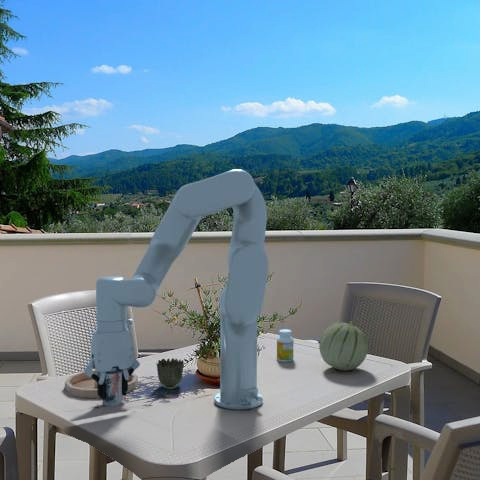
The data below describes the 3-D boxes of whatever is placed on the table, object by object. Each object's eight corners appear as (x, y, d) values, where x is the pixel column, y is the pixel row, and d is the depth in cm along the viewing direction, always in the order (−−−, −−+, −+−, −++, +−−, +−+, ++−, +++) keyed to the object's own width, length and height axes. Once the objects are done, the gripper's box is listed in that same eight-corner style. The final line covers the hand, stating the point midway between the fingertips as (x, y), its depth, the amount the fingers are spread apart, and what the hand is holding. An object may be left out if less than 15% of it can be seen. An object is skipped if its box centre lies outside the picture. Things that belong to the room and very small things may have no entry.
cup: (179, 395, 164) (178, 366, 163) (153, 393, 165) (152, 364, 164) (187, 386, 171) (186, 358, 170) (161, 384, 172) (161, 357, 172)
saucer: (147, 393, 165) (147, 382, 165) (78, 406, 155) (78, 394, 155) (122, 375, 181) (122, 365, 181) (57, 385, 171) (57, 375, 171)
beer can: (99, 408, 154) (98, 361, 153) (110, 402, 158) (109, 356, 157) (115, 410, 152) (115, 363, 151) (126, 404, 157) (125, 358, 156)
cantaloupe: (309, 368, 189) (309, 321, 188) (339, 360, 198) (340, 314, 197) (346, 379, 178) (347, 329, 177) (377, 370, 187) (378, 322, 186)
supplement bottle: (275, 357, 201) (275, 328, 200) (291, 357, 202) (291, 328, 201) (278, 362, 196) (278, 332, 195) (294, 362, 196) (295, 332, 195)
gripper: (137, 319, 161) (138, 386, 163) (74, 326, 152) (75, 397, 154) (149, 324, 155) (149, 394, 156) (83, 332, 146) (84, 406, 147)
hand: (112, 395), depth 155 cm, fingers closed on beer can, 4 cm apart
